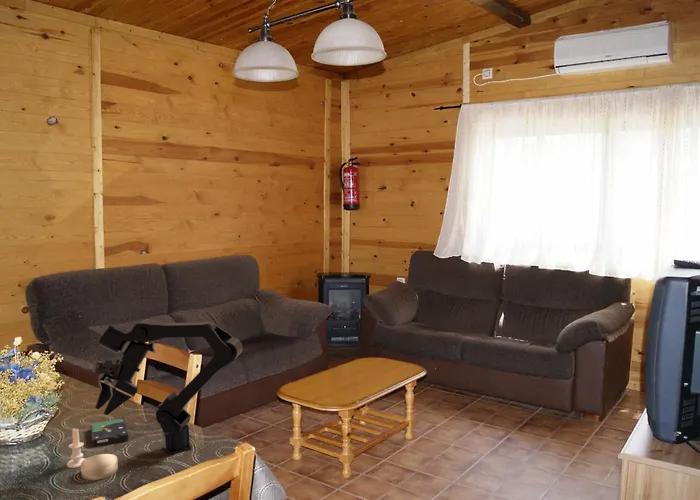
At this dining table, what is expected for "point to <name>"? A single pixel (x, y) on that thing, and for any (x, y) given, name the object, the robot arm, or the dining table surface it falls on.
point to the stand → (99, 466)
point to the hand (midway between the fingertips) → (100, 411)
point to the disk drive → (109, 432)
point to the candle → (75, 451)
